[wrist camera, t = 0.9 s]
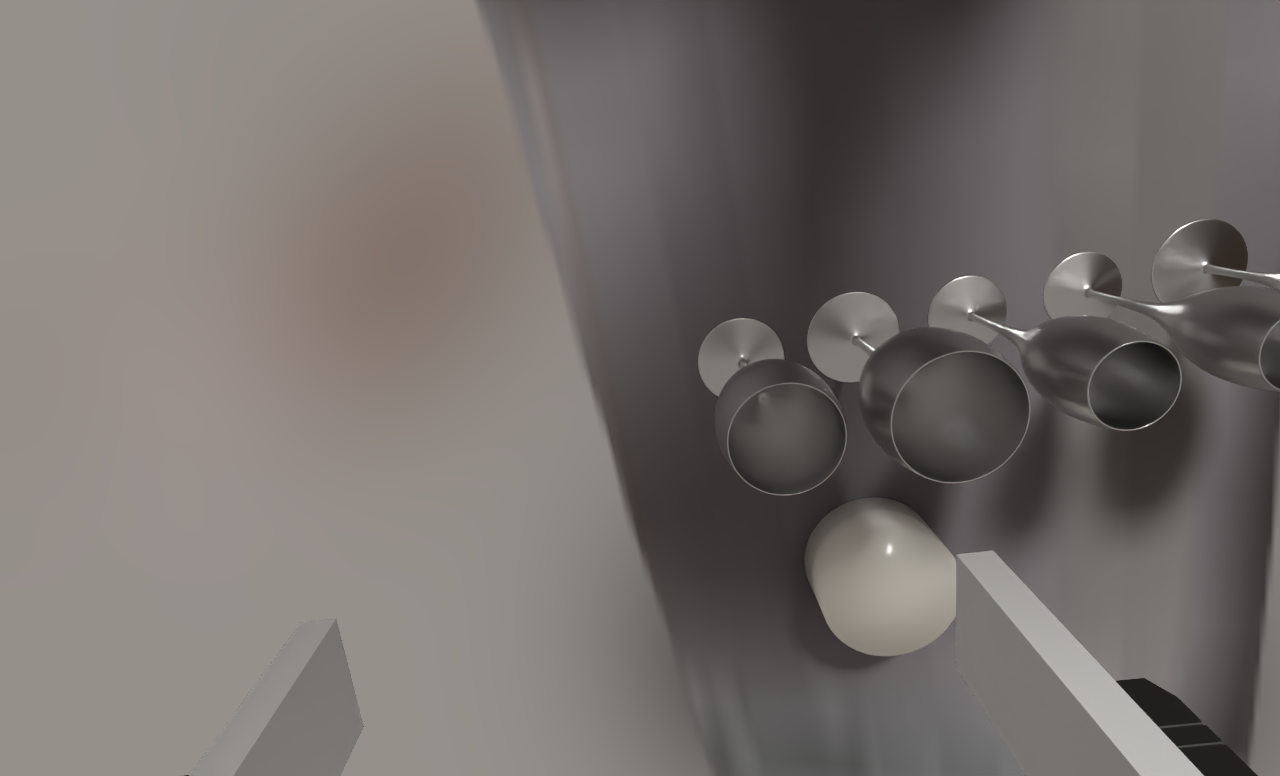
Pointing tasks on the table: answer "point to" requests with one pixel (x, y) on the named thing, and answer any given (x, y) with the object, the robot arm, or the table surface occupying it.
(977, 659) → the robot arm
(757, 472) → the goblet set
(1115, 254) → the table surface
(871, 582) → the cream squat rounded piece
